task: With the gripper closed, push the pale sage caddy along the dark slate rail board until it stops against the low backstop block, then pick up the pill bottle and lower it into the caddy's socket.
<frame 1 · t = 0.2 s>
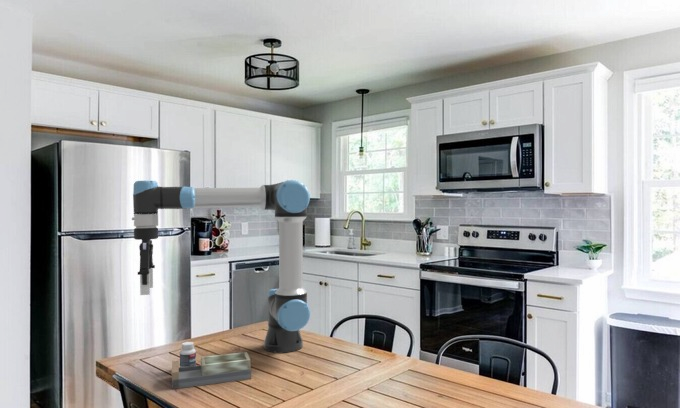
hand: (146, 291, 156), 28 cm above the table, fingers open, 13 cm apart
rail board: (211, 377, 152), on the table
caddy: (225, 364, 154), point 4 cm above the table, slide at 0.0 cm
pill bottle: (188, 370, 160), on the table
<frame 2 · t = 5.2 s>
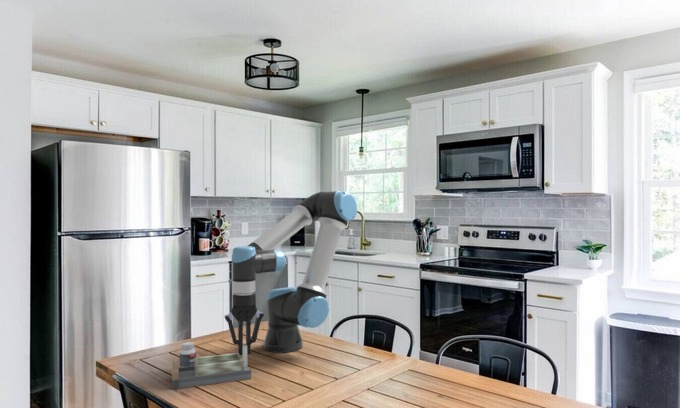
hand: (244, 364, 156), 3 cm above the table, fingers closed
caddy: (218, 365, 153), point 4 cm above the table, slide at 2.1 cm, touching gripper
everything else where it was.
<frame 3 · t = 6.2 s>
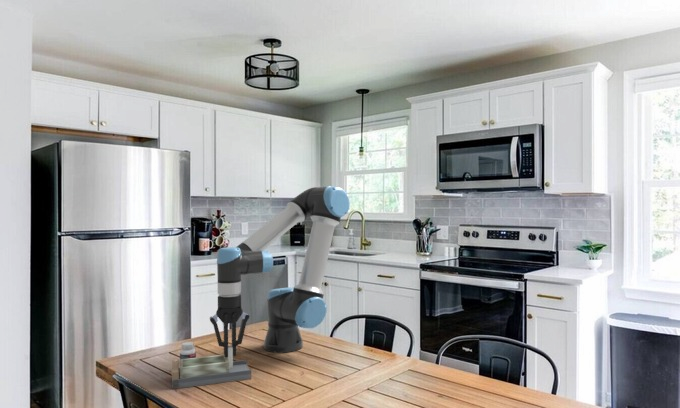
hand: (230, 366, 154), 3 cm above the table, fingers closed
caddy: (204, 367, 152), point 4 cm above the table, slide at 6.7 cm, touching gripper
everything else where it was.
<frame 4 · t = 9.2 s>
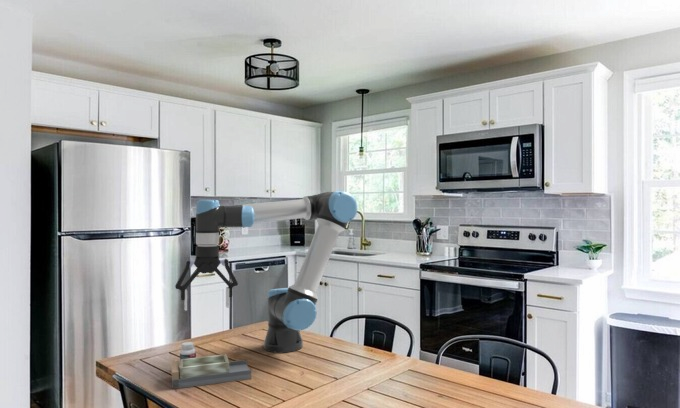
hand: (206, 308, 158), 21 cm above the table, fingers open, 13 cm apart
caddy: (204, 367, 152), point 4 cm above the table, slide at 6.7 cm
everything else where it was.
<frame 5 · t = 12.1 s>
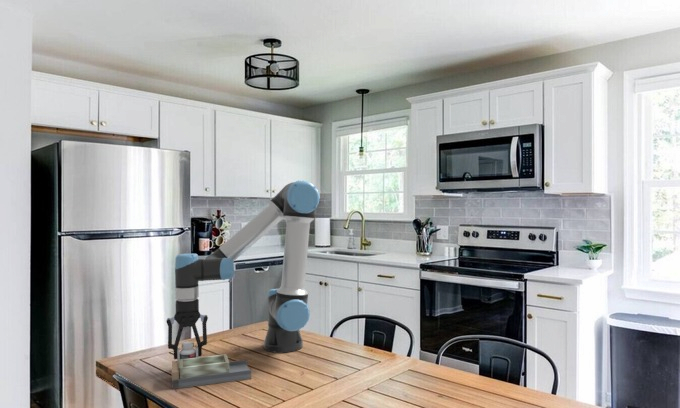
hand: (187, 366, 160), 1 cm above the table, fingers closed on pill bottle, 5 cm apart
pill bottle: (188, 369, 160), on the table, touching gripper
everything else where it was.
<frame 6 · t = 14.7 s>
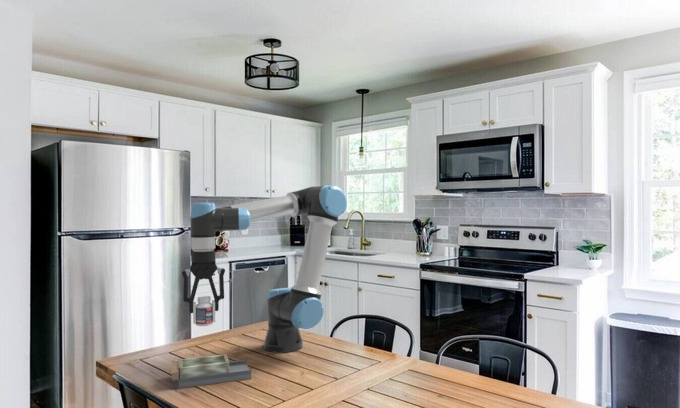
hand: (204, 321, 152), 18 cm above the table, fingers closed on pill bottle, 5 cm apart
pill bottle: (204, 325, 152), point 17 cm above the table, touching gripper
everything else where it was.
when the fingers open (5 cm above the table, at t = 17.3 s): pill bottle drops 1 cm, resting on caddy.
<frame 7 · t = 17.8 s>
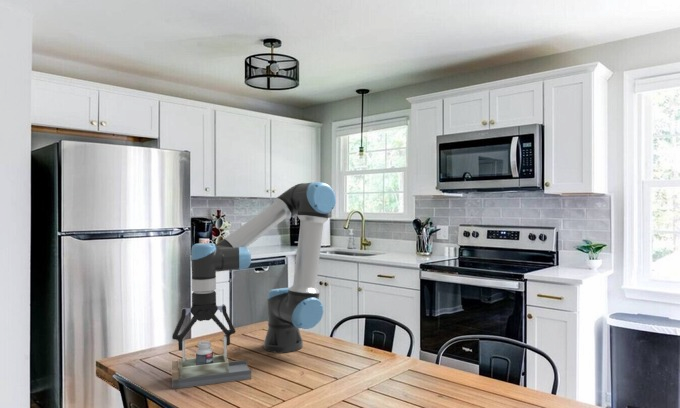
hand: (204, 358, 152), 7 cm above the table, fingers open, 12 cm apart
caddy: (203, 367, 152), point 4 cm above the table, slide at 6.9 cm, touching pill bottle
pill bottle: (204, 370, 152), point 3 cm above the table, touching caddy
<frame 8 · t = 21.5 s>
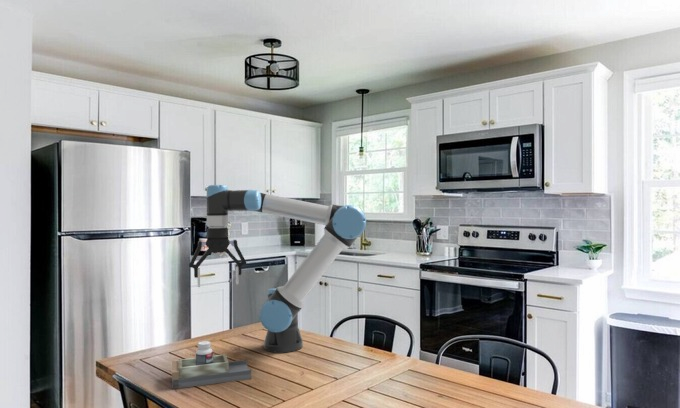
hand: (218, 285, 172), 27 cm above the table, fingers open, 13 cm apart
nothing on the table moved.
at the end: caddy slide at 6.9 cm; pill bottle inside the target area (0.1 cm from its centre), point 2.5 cm above the table; pill bottle tilted 0° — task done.
